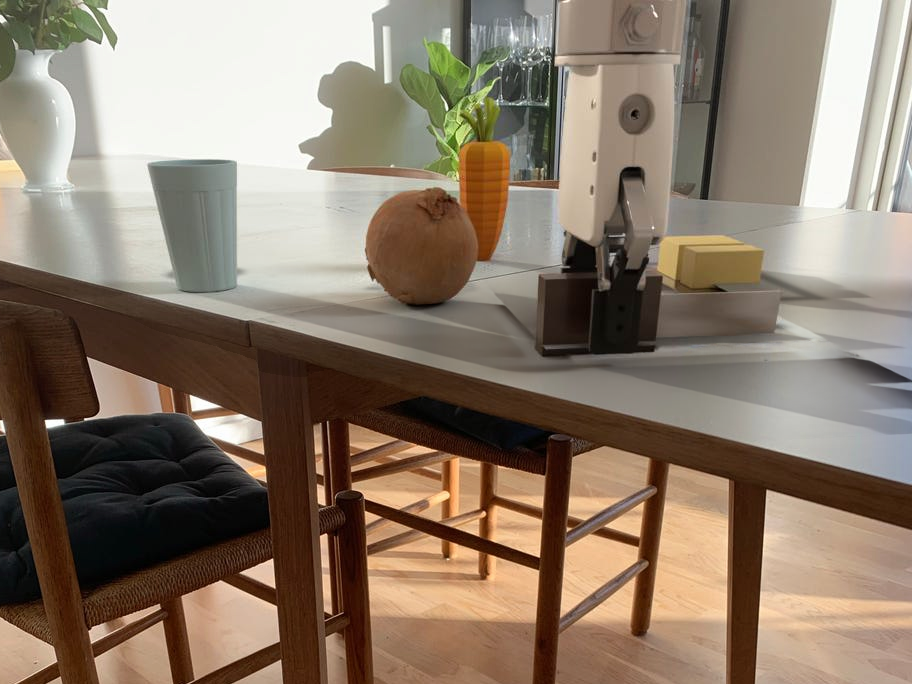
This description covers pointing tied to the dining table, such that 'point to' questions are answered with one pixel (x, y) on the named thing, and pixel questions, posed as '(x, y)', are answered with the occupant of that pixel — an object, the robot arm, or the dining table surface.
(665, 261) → the butter block
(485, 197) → the carrot
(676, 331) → the knife
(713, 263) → the butter slice
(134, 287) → the dining table surface
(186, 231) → the cup
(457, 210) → the onion
